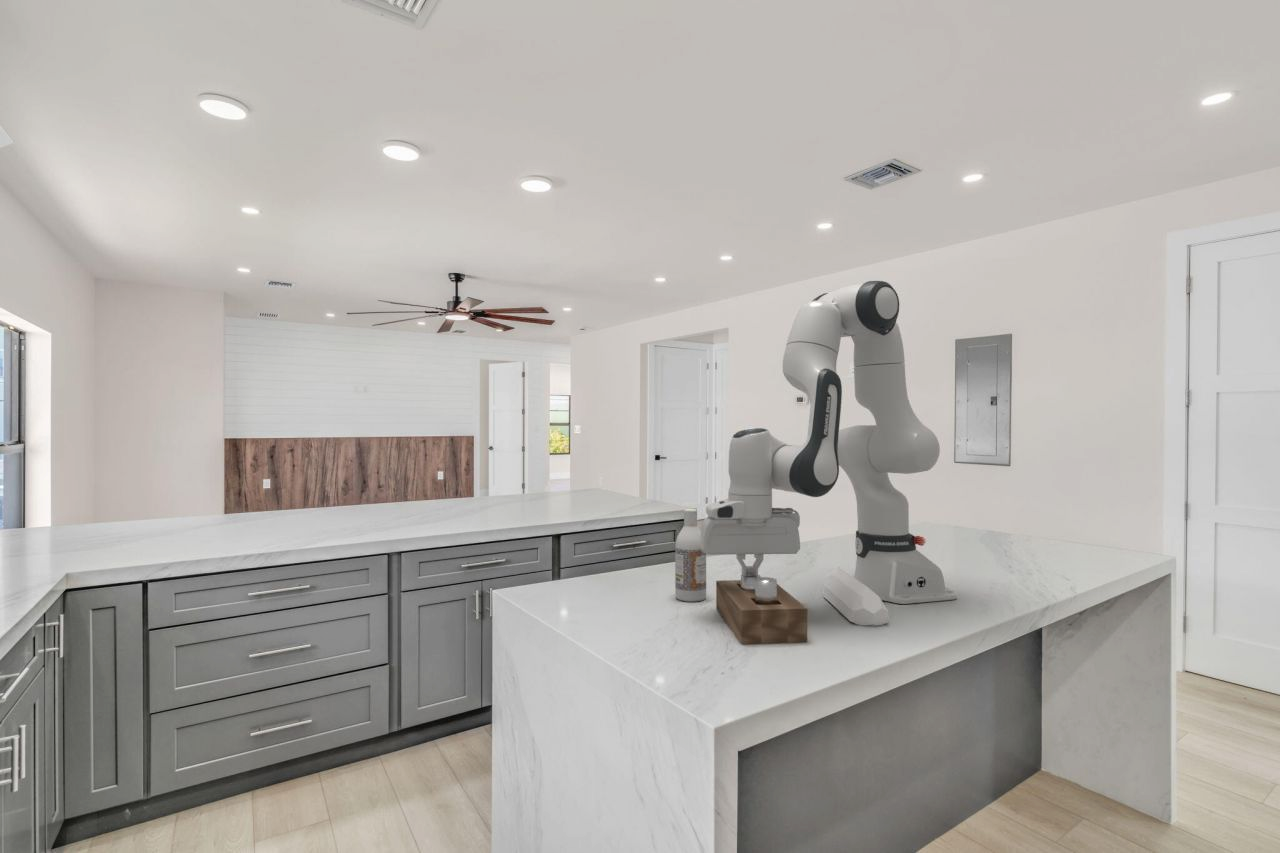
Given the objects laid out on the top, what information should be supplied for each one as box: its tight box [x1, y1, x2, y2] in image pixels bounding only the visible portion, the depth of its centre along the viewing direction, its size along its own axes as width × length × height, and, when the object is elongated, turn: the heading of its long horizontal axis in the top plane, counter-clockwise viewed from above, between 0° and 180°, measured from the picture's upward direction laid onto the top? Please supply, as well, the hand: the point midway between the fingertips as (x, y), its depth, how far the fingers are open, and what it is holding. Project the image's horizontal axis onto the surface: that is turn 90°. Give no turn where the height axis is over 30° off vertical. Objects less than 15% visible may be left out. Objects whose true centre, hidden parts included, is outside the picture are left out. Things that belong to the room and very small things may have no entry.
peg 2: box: [755, 576, 778, 605], centre depth 118 cm, size 4×4×6 cm
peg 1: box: [740, 574, 762, 590], centre depth 129 cm, size 4×4×6 cm
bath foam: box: [674, 508, 707, 603], centre depth 142 cm, size 7×7×20 cm
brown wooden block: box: [715, 579, 808, 645], centre depth 123 cm, size 12×22×6 cm, turn 5°
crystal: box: [822, 566, 890, 627], centre depth 133 cm, size 7×7×24 cm
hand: (749, 575), depth 129 cm, fingers closed, pressing on peg 1
